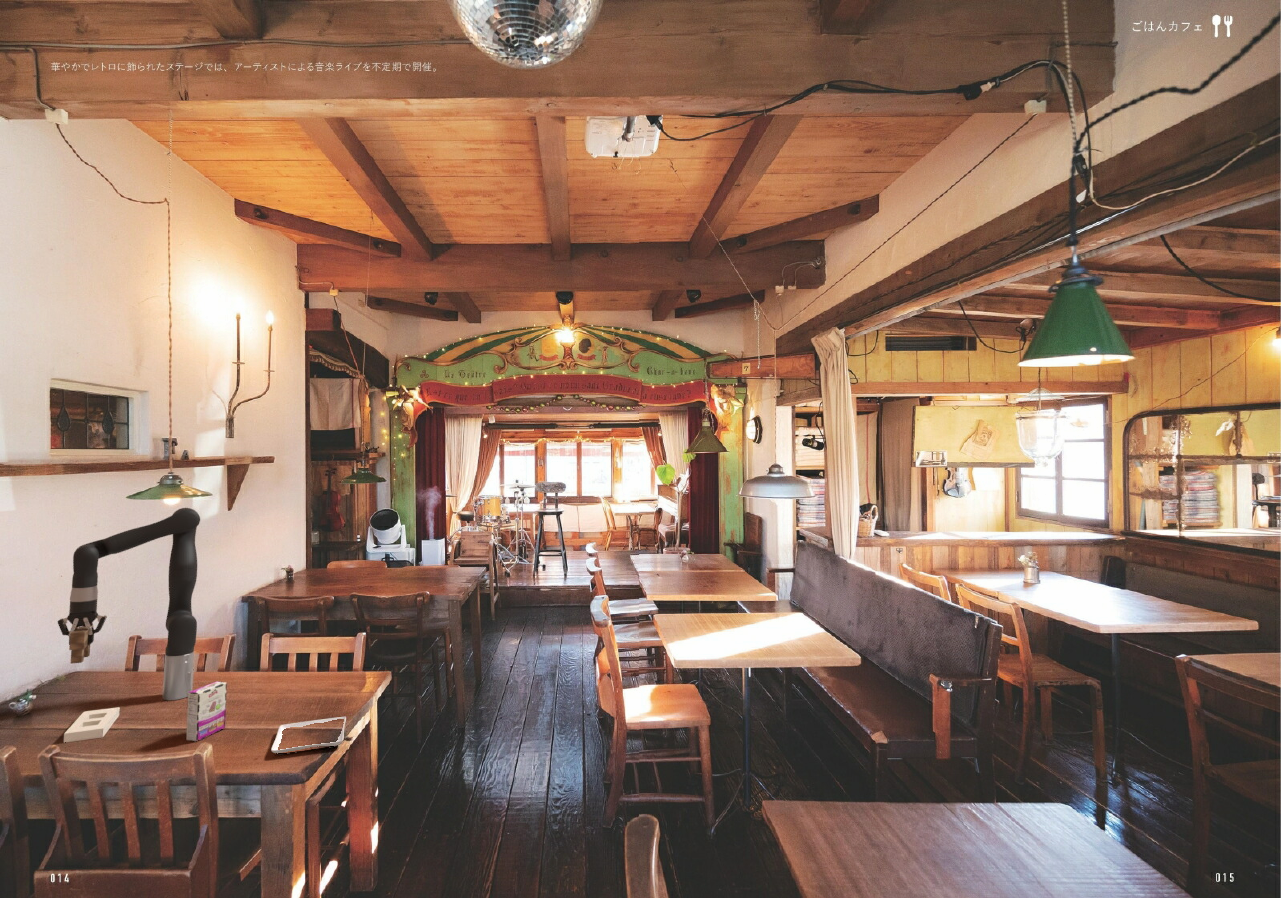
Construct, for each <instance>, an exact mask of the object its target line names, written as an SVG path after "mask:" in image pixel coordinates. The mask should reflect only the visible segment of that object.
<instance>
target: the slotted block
mask: <svg viewBox="0 0 1281 898" xmlns="http://www.w3.org/2000/svg"><path fill="white" fill-rule="evenodd" d="M120 709H121V708H120V707H119V706H118V707H112V708H101V709H95V710H93V709H92V710H87V711H85V710H84V711H83V712H82V713H81V715H79V717H78V718H77V719H76V720H75V721H74V722H73V723H72V724H71V726H70V727H69V728H68V729H67V730H66V731H65V732H64V733H63V743H64V744H65V742H66V743H73V742H78V741H80V742H81V741H85V740H94V739H95V740H96V739H100V738H102V739H103V738H104V736H105V735H106V734H107V733H108V731H109V730H110V728H111V727H112V726H113V724H114V723H115V722H116V720H117V719H118V718H119V716H120Z"/></svg>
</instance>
